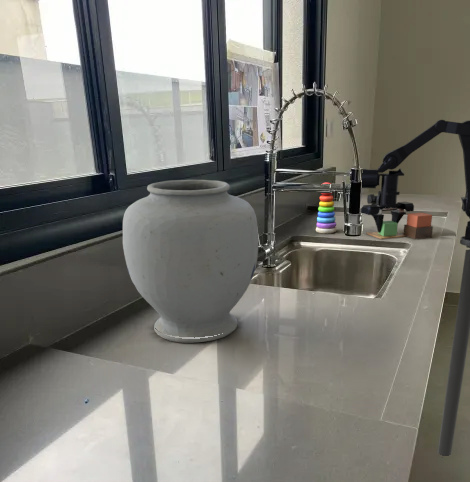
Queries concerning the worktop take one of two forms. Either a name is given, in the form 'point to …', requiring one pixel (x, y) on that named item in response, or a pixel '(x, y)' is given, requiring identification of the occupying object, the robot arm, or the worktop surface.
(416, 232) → the walnut block
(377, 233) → the cork coaster
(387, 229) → the green block
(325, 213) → the stacking toy
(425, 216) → the terracotta block
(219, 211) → the grey vase
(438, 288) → the worktop surface
